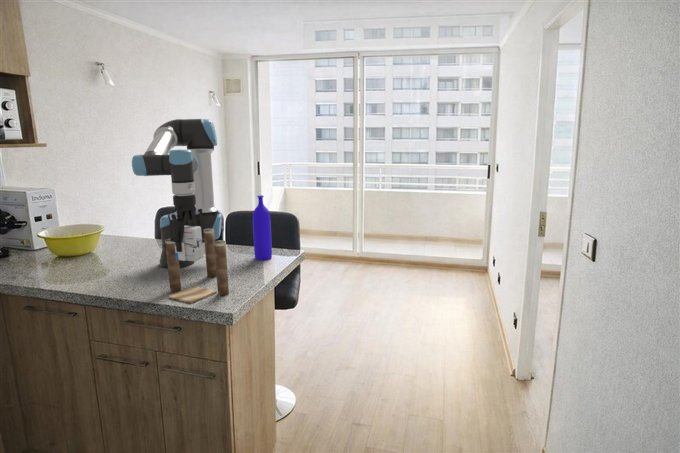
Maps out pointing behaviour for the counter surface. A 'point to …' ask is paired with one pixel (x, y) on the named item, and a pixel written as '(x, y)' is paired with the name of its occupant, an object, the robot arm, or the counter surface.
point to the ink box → (192, 243)
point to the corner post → (221, 267)
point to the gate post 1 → (173, 267)
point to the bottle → (262, 231)
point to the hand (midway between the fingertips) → (189, 257)
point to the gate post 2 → (210, 252)
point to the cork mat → (192, 294)
